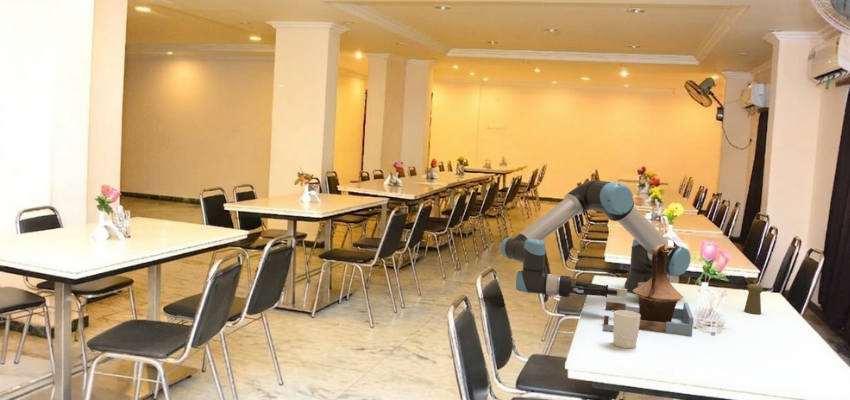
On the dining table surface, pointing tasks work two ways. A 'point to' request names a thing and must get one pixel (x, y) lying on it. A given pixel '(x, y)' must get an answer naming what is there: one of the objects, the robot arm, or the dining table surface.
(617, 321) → the beige tumbler
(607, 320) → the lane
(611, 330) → the mat
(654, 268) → the pitcher
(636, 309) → the mat
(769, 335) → the dining table surface
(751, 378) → the dining table surface
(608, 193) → the robot arm
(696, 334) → the dining table surface
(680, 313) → the pocket
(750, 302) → the cork
